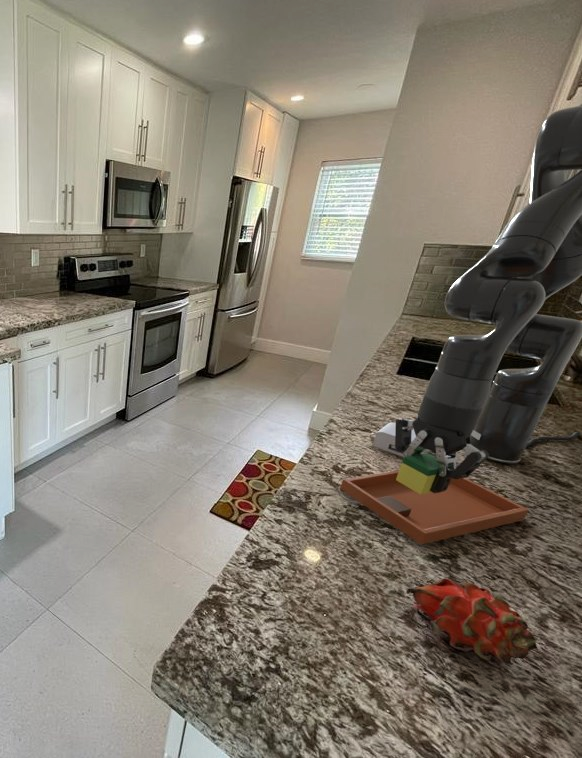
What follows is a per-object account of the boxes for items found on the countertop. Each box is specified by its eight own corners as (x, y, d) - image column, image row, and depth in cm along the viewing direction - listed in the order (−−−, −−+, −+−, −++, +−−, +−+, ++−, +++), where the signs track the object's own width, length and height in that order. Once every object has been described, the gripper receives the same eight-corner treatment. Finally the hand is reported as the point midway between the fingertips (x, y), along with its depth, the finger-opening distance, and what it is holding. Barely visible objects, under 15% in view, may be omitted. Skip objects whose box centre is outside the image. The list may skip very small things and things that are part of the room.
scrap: (387, 502, 78) (390, 495, 77) (409, 516, 74) (411, 509, 74) (371, 505, 77) (374, 498, 76) (392, 519, 73) (395, 512, 72)
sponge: (419, 475, 78) (428, 452, 76) (445, 489, 74) (454, 465, 72) (395, 480, 76) (404, 456, 74) (420, 494, 72) (430, 470, 70)
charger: (435, 445, 101) (418, 464, 92) (391, 430, 108) (371, 447, 99) (442, 428, 99) (425, 446, 90) (397, 414, 106) (377, 430, 97)
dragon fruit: (527, 692, 48) (399, 632, 57) (536, 621, 51) (413, 575, 60) (541, 676, 43) (398, 613, 52) (550, 599, 46) (414, 552, 55)
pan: (432, 474, 88) (436, 463, 87) (522, 522, 74) (529, 509, 74) (339, 491, 82) (342, 479, 81) (419, 547, 68) (425, 533, 67)
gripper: (522, 413, 63) (480, 504, 69) (425, 381, 76) (397, 460, 82) (488, 419, 61) (448, 511, 67) (395, 384, 74) (368, 465, 80)
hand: (420, 482), depth 75 cm, fingers closed on sponge, 4 cm apart
